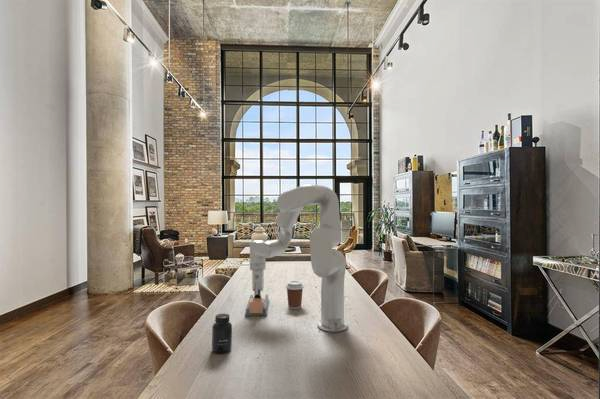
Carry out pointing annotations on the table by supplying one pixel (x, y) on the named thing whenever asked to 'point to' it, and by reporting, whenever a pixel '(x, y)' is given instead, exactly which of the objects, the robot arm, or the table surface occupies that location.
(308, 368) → the table surface
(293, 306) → the coffee cup
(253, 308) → the block
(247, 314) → the steel chute
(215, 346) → the supplement bottle
